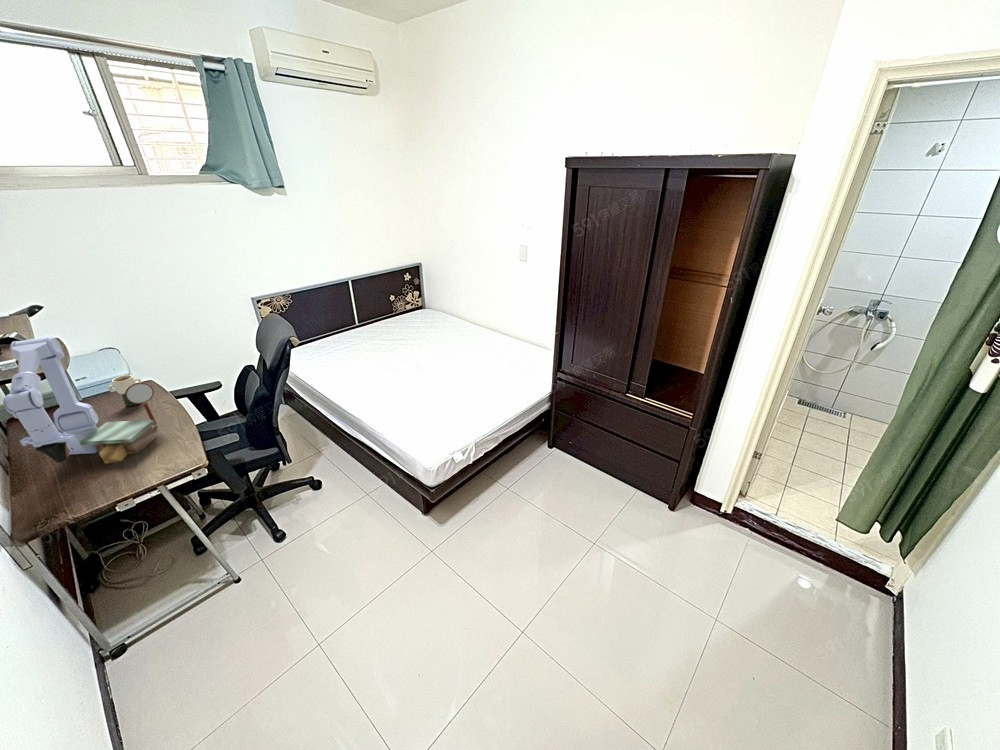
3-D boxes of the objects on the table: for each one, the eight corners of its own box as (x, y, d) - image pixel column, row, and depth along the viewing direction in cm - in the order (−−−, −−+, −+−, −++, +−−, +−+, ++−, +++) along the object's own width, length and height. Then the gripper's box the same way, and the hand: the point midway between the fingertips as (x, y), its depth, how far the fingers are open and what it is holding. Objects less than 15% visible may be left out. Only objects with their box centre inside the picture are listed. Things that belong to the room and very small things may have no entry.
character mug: (149, 396, 185) (137, 371, 179) (150, 402, 180) (138, 376, 174) (118, 405, 178) (105, 379, 172) (119, 411, 174) (105, 385, 168)
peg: (105, 464, 142) (98, 453, 140) (123, 444, 153) (117, 434, 150) (122, 461, 144) (115, 450, 141) (138, 442, 154) (132, 431, 152)
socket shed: (89, 459, 144) (79, 441, 141) (116, 438, 155) (106, 422, 152) (139, 456, 146) (129, 439, 142) (161, 436, 157) (153, 419, 153)
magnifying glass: (143, 431, 160) (121, 388, 151) (142, 430, 161) (120, 387, 151) (168, 421, 166) (149, 380, 157) (167, 420, 167) (147, 378, 158)
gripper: (1, 435, 119) (26, 470, 125) (53, 432, 120) (75, 467, 126) (24, 421, 125) (46, 455, 132) (73, 419, 126) (93, 453, 133)
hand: (62, 460), depth 129 cm, fingers closed
